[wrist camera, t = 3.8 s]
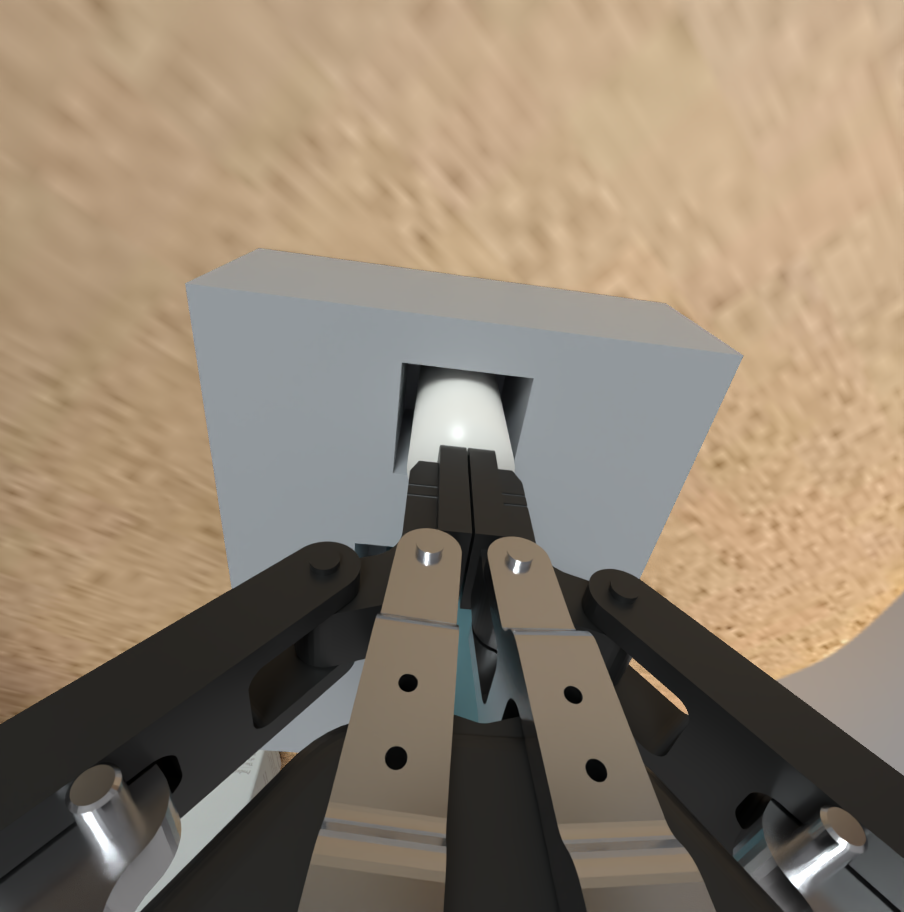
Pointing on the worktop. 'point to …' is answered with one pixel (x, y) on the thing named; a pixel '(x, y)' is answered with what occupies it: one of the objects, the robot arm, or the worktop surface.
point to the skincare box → (218, 812)
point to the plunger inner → (458, 415)
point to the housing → (393, 403)
